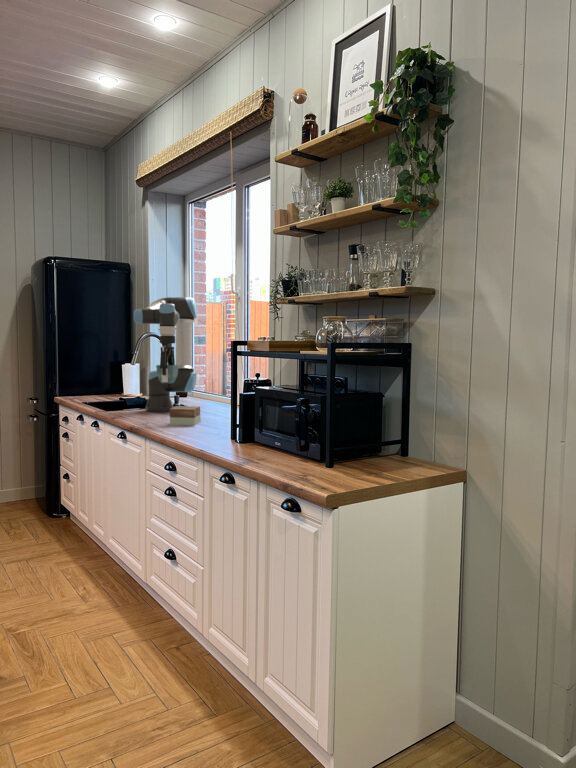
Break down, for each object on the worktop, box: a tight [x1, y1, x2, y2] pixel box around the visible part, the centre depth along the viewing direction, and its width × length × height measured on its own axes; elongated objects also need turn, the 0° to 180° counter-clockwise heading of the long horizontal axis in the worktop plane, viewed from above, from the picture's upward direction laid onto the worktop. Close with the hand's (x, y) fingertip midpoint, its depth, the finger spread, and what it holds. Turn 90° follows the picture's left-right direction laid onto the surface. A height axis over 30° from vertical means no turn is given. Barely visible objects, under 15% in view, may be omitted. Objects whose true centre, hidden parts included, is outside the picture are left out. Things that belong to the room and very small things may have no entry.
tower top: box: [169, 405, 201, 418], centre depth 285 cm, size 12×12×4 cm
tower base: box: [169, 414, 202, 426], centre depth 286 cm, size 12×12×4 cm
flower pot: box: [155, 364, 179, 383], centre depth 288 cm, size 9×9×9 cm
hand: (167, 381), depth 288 cm, fingers closed on flower pot, 8 cm apart
